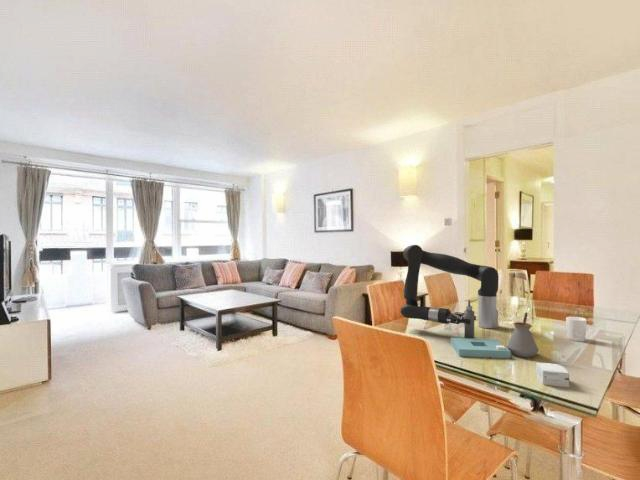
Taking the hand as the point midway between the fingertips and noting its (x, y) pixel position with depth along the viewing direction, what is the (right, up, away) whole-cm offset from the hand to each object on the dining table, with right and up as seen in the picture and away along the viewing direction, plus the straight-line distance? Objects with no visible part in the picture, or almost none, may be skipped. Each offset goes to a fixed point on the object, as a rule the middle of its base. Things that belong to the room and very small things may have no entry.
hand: (473, 320), depth 161 cm
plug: (-1, -10, +1) cm, 10 cm away
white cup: (+49, -9, 0) cm, 50 cm away
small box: (+7, -11, -45) cm, 46 cm away
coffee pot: (+15, -10, -15) cm, 24 cm away
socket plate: (-4, -10, -13) cm, 17 cm away
